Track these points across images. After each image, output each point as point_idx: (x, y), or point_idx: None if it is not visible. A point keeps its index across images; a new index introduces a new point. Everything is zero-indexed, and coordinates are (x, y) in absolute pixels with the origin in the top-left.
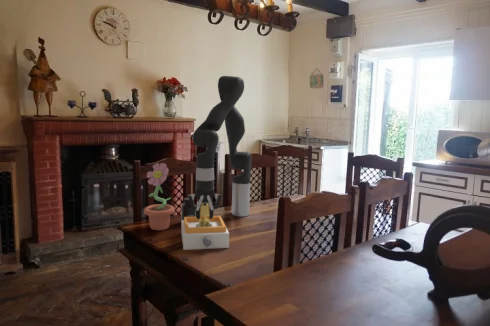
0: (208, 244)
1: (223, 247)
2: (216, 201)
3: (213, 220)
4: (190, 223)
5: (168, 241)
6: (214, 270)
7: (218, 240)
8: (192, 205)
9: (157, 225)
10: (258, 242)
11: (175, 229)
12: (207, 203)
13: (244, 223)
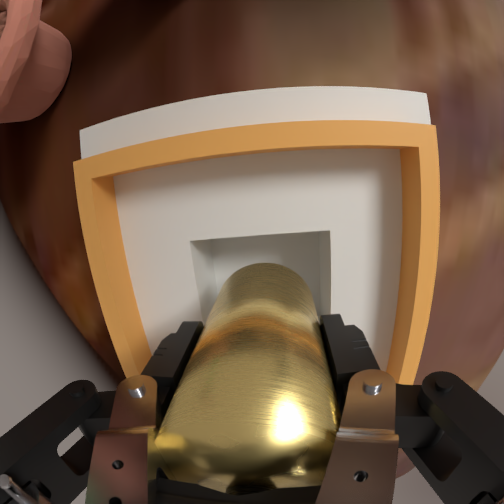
0: None
1: None
2: (450, 491)
3: (358, 148)
4: (145, 217)
5: (90, 269)
6: None
7: None
8: (90, 463)
9: (15, 121)
10: (500, 298)
11: (101, 76)
12: (307, 455)
13: (479, 20)
